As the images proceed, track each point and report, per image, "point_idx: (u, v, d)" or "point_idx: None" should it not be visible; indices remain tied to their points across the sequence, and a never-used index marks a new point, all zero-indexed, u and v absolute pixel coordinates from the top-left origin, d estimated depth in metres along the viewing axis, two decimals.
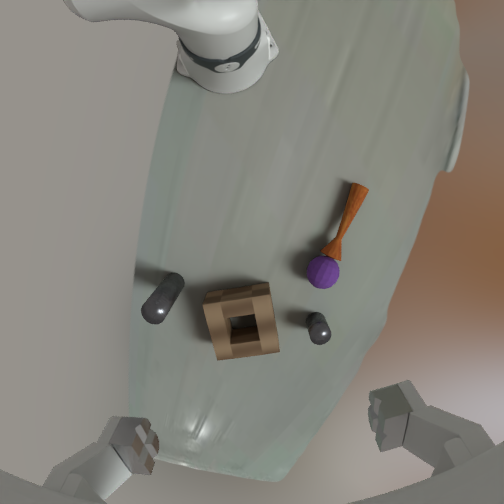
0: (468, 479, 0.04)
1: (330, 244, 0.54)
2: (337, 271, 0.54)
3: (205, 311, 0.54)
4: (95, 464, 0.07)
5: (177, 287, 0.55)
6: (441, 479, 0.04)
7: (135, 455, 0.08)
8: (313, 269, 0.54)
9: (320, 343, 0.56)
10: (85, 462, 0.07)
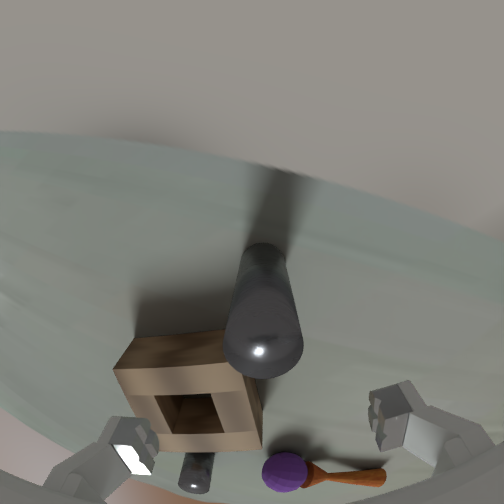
0: (468, 479, 0.04)
1: (322, 474, 0.33)
2: None
3: (223, 365, 0.24)
4: (95, 464, 0.07)
5: None
6: (441, 479, 0.04)
7: (135, 455, 0.08)
8: (295, 473, 0.31)
9: (180, 485, 0.30)
10: (86, 462, 0.07)
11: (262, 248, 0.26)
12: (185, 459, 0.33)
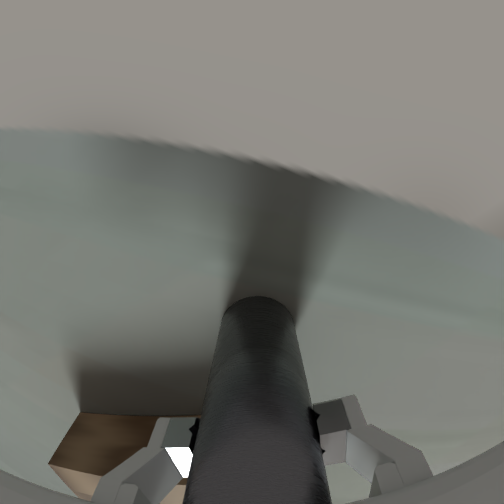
0: (468, 479, 0.04)
1: None
2: None
3: None
4: (147, 471, 0.07)
5: None
6: (441, 479, 0.04)
7: (190, 457, 0.08)
8: None
9: None
10: (138, 470, 0.07)
11: (256, 313, 0.14)
12: None
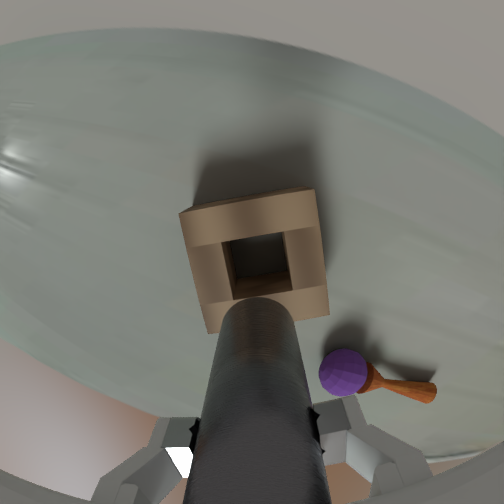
0: (468, 479, 0.04)
1: (380, 376, 0.35)
2: None
3: (299, 194, 0.26)
4: (148, 471, 0.07)
5: None
6: (441, 479, 0.04)
7: (190, 457, 0.08)
8: (358, 364, 0.32)
9: None
10: (138, 470, 0.07)
11: (257, 314, 0.14)
12: None
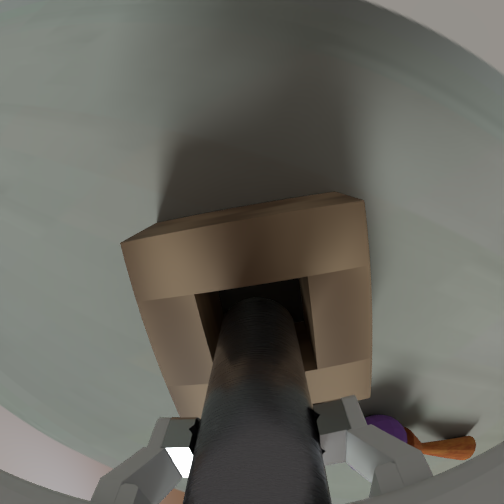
0: (468, 479, 0.04)
1: (419, 444, 0.22)
2: None
3: (337, 209, 0.14)
4: (148, 471, 0.07)
5: None
6: (441, 479, 0.04)
7: (190, 457, 0.08)
8: None
9: None
10: (138, 470, 0.07)
11: (257, 314, 0.14)
12: None
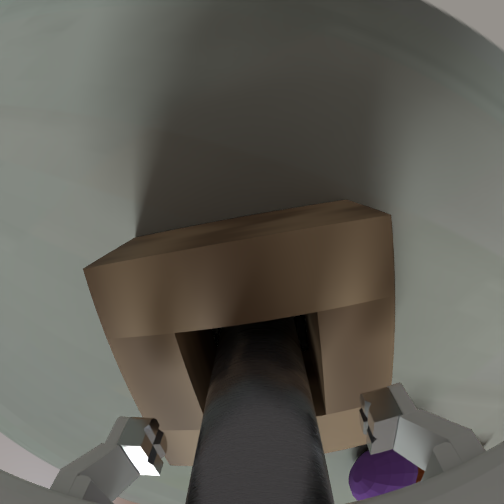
0: (468, 479, 0.04)
1: None
2: None
3: (357, 227, 0.11)
4: (103, 465, 0.07)
5: None
6: (441, 479, 0.04)
7: (143, 455, 0.08)
8: (409, 473, 0.17)
9: None
10: (94, 464, 0.07)
11: None
12: None
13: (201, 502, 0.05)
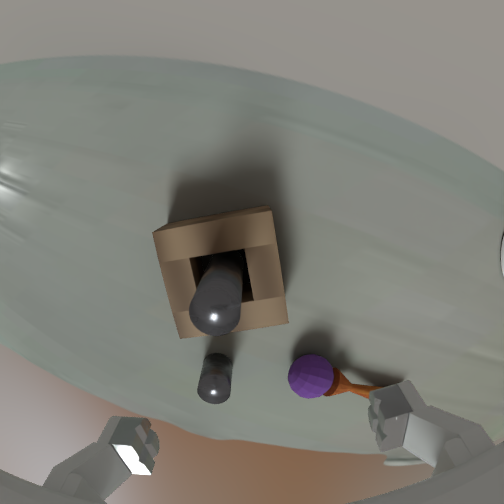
0: (468, 479, 0.04)
1: (346, 381, 0.38)
2: None
3: (258, 215, 0.30)
4: (95, 464, 0.07)
5: None
6: (441, 479, 0.04)
7: (135, 455, 0.08)
8: (324, 369, 0.36)
9: (199, 391, 0.35)
10: (86, 462, 0.07)
11: None
12: (204, 366, 0.38)
13: (198, 289, 0.24)
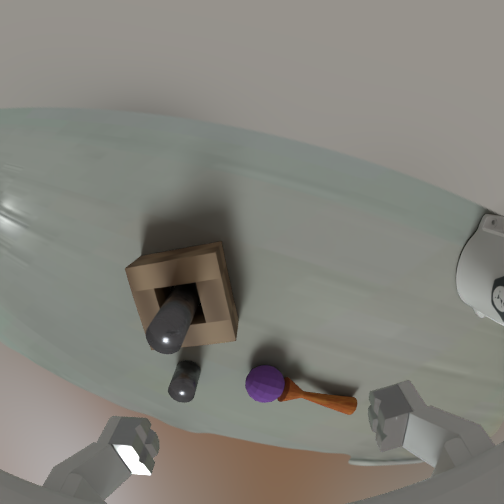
0: (468, 479, 0.04)
1: (297, 389, 0.45)
2: (268, 401, 0.44)
3: (204, 256, 0.36)
4: (95, 464, 0.07)
5: None
6: (441, 479, 0.04)
7: (135, 455, 0.08)
8: (273, 379, 0.43)
9: (170, 392, 0.42)
10: (86, 462, 0.07)
11: None
12: (175, 371, 0.45)
13: (152, 320, 0.31)
